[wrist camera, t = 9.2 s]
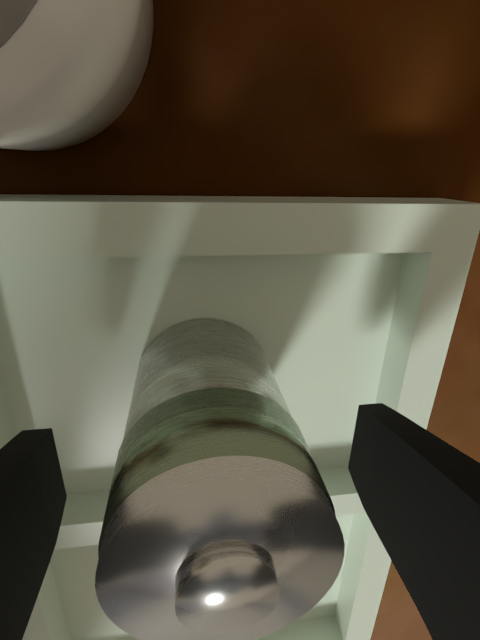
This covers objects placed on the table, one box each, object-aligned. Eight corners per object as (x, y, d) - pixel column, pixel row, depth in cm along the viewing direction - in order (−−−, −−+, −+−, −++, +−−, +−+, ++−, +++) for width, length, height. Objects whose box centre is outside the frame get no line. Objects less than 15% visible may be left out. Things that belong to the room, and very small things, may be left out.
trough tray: (349, 613, 19) (365, 656, 17) (55, 660, 17) (41, 715, 15) (440, 198, 11) (486, 204, 9) (-90, 193, 9) (-150, 200, 7)
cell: (268, 423, 12) (345, 652, 7) (144, 438, 12) (109, 700, 6) (269, 311, 11) (373, 483, 5) (126, 322, 10) (55, 527, 5)
